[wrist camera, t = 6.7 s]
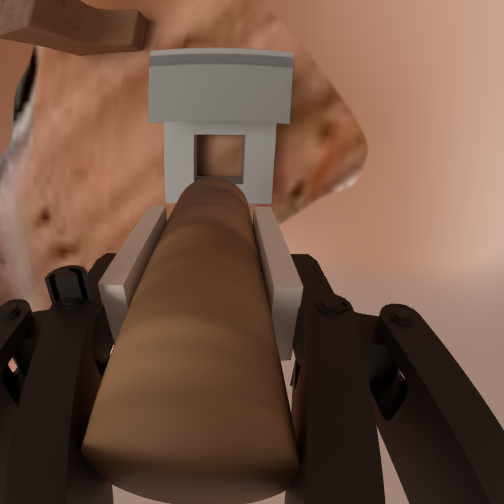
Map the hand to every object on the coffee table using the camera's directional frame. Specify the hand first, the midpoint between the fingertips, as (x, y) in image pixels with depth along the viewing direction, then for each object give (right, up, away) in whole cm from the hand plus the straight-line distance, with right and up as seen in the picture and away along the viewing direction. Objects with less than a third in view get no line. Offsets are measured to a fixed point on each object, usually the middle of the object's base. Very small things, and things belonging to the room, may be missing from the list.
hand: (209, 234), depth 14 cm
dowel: (0, +1, +3) cm, 3 cm away
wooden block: (-15, +26, +14) cm, 33 cm away
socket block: (-2, +14, +20) cm, 25 cm away
